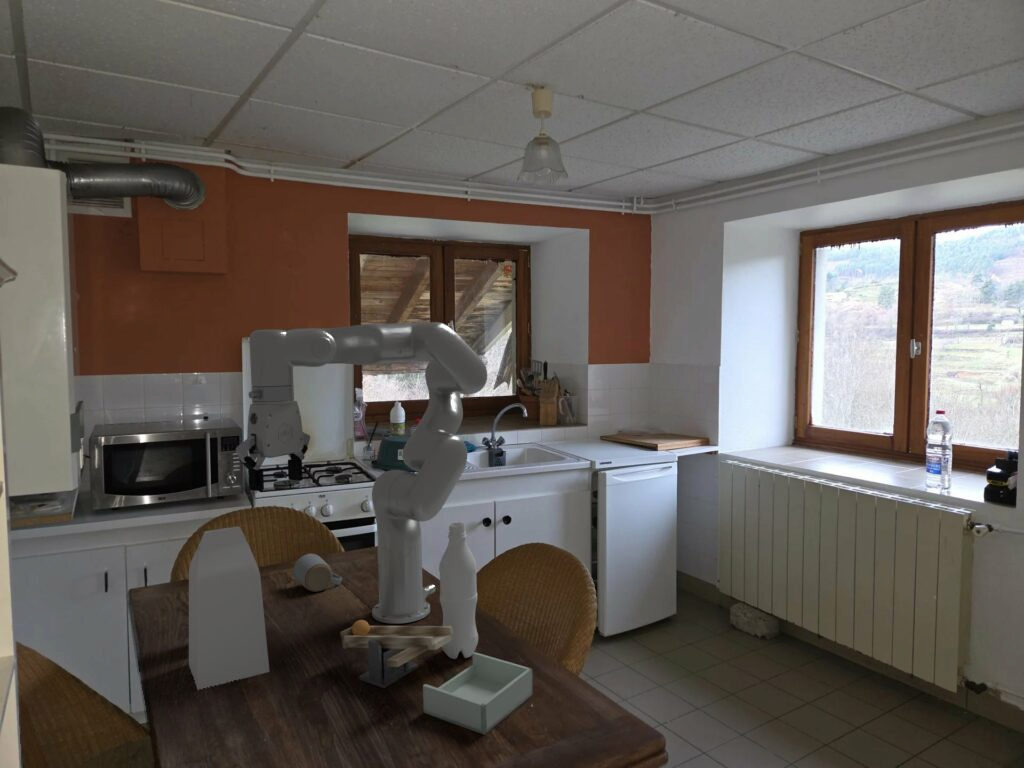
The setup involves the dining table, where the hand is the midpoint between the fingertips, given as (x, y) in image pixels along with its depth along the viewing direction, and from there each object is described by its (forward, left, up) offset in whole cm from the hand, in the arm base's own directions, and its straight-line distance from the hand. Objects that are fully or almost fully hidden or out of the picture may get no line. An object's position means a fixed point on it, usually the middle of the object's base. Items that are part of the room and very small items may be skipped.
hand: (276, 485), depth 132 cm
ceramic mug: (-29, -23, -33) cm, 50 cm away
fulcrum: (-5, +23, -33) cm, 41 cm away
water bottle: (-18, +29, -33) cm, 48 cm away
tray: (-5, +43, -33) cm, 55 cm away
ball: (-5, +16, -26) cm, 31 cm away
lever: (-1, +25, -27) cm, 37 cm away
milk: (+9, -4, -33) cm, 35 cm away
